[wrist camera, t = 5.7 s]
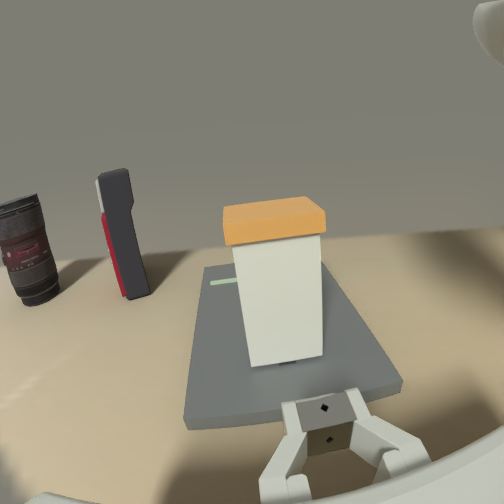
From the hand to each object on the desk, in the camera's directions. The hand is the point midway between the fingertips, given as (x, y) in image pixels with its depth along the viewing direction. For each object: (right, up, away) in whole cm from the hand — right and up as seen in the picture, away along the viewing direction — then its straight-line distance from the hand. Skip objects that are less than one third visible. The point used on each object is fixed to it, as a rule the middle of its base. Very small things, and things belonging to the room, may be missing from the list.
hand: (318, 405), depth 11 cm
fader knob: (0, -1, +12) cm, 12 cm away
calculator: (-18, +2, +30) cm, 35 cm away
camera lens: (-34, -1, +28) cm, 44 cm away
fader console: (-1, 0, +18) cm, 18 cm away
